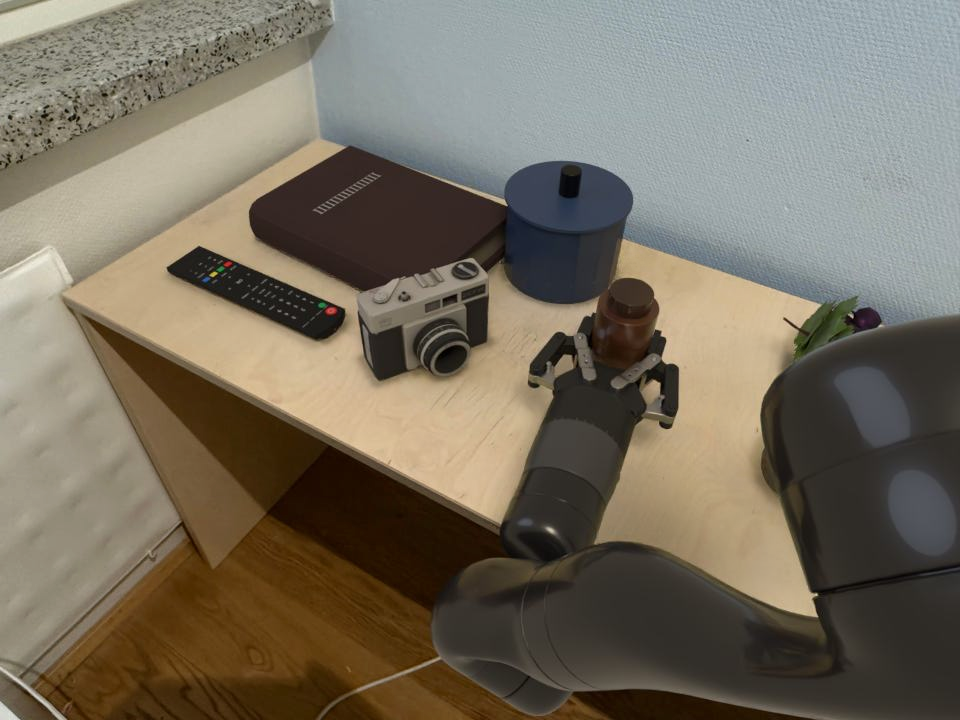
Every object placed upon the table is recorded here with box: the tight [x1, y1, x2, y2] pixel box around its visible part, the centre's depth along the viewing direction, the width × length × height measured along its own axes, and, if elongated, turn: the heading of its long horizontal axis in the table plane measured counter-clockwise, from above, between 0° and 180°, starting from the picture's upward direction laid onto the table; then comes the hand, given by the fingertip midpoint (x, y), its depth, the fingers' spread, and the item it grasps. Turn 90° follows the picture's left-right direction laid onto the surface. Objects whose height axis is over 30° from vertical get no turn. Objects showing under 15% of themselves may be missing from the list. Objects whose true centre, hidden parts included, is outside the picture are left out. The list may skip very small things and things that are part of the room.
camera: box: [356, 258, 490, 382], centre depth 70 cm, size 14×9×10 cm, turn 111°
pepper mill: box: [589, 277, 660, 370], centre depth 65 cm, size 6×6×14 cm
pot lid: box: [503, 160, 634, 234], centre depth 77 cm, size 15×15×4 cm
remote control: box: [165, 245, 346, 341], centre depth 80 cm, size 5×24×1 cm, turn 60°
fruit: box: [782, 294, 883, 362], centre depth 69 cm, size 10×11×15 cm
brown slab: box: [248, 144, 507, 292], centre depth 86 cm, size 28×20×6 cm
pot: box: [503, 205, 628, 305], centre depth 82 cm, size 14×14×10 cm
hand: (625, 328), depth 67 cm, fingers closed on pepper mill, 5 cm apart
